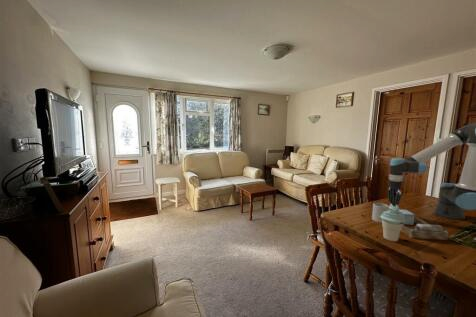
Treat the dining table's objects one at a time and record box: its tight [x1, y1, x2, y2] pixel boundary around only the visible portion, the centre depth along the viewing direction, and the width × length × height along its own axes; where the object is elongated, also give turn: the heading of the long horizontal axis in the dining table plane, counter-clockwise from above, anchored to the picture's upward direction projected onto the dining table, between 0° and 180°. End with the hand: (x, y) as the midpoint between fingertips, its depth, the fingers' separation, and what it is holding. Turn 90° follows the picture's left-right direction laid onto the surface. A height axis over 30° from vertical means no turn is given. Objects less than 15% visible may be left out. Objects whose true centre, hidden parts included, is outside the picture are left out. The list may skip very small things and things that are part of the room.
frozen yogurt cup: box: [380, 204, 406, 242], centre depth 110 cm, size 10×11×20 cm
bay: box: [400, 216, 449, 241], centre depth 121 cm, size 18×23×8 cm
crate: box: [399, 208, 416, 226], centre depth 132 cm, size 8×8×7 cm
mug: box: [371, 202, 389, 224], centre depth 135 cm, size 12×8×11 cm
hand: (392, 212), depth 143 cm, fingers closed
